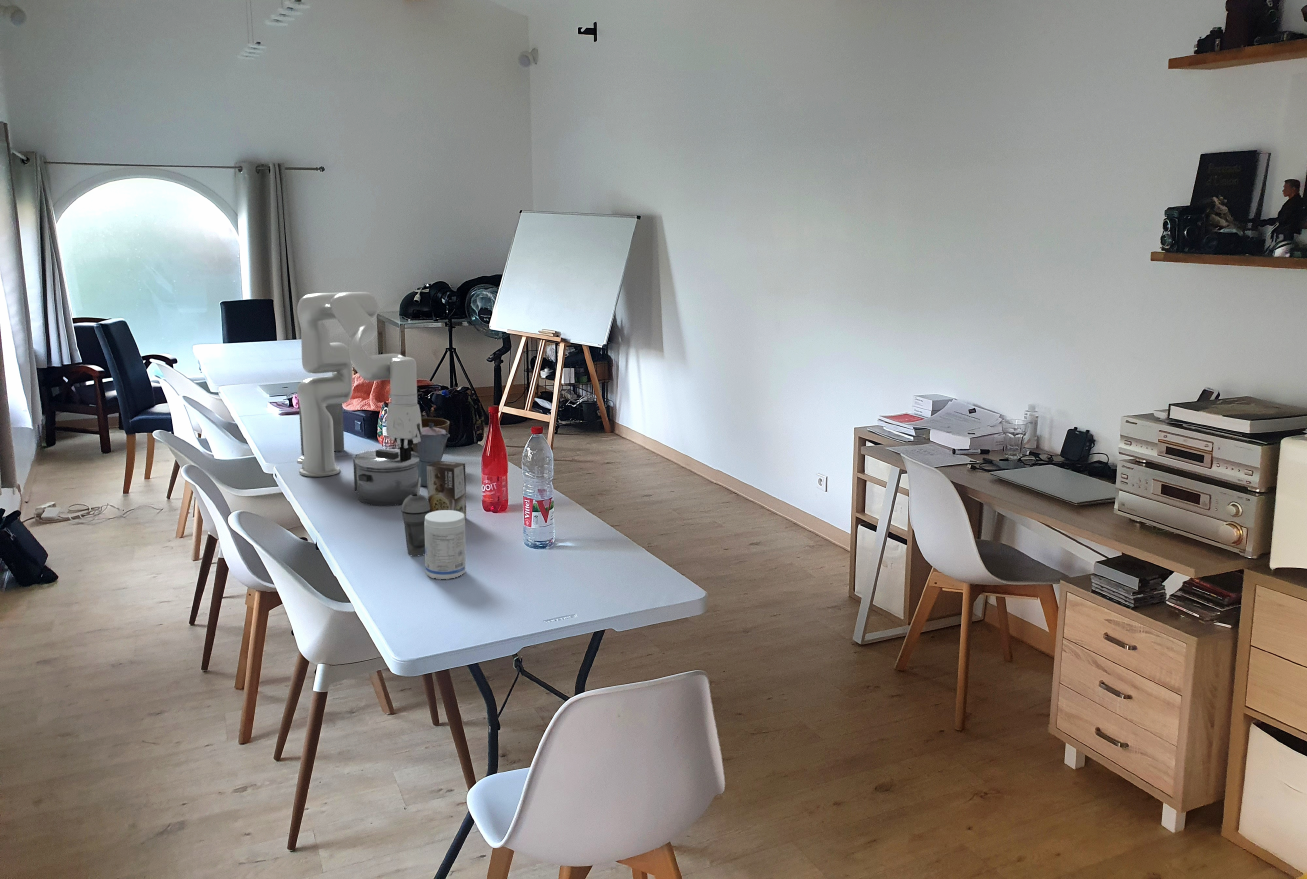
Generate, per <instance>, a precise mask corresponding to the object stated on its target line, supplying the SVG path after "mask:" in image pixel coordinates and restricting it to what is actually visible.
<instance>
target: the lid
mask: <svg viewBox="0 0 1307 879" xmlns="http://www.w3.org/2000/svg"><path fill="white" fill-rule="evenodd" d="M354 459H355V464H356V465H357V466H359V467H363V468H368V469H399V468H405V467H410V466H413V465H415V464H417V463H419V454H417V453H415V452H411V460H408V461H400V449H382V448H379V449H375V450H370V451H368V450H367V451H364V452H360V453H357V454H355V457H354Z"/></svg>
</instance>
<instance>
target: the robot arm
mask: <svg viewBox="0 0 1307 879" xmlns="http://www.w3.org/2000/svg"><path fill="white" fill-rule="evenodd" d="M379 308H380V306H379V302H378V299H377V298H376V297H375V296H374V295H373V294H372V293H371V292H368V291H356V292H354V291H353V292H348V291H347V292H319V293H316V292H315V293H310V294H306V295H304V296H302V297H301V298H300V299H299V301H298V303H297V308H296V310H297V311H296V312H297V317H298V318H297V320H298V322H299V326H300V332H301V336H300V337H301V340H300V341H301V363H302V364H301V365H302V369H303V370H304V371H305V372H306V373H307V374H311V375H314V374H315V375H318V374H328V373H331V374H332V375H327V376H325V375H324V376H316V377H314V376H313V377H309V378H306V379H303V380H302V381H300V383H298V385H297V388H296V395H297V399H298V402H299V405H300V408H301V415H302V428H303V447H304V455H303V456H300V457H299V458H298V459H297V461H296V463H297V464H299V465H302V466H301V468H300V469H299V474H300V475H302V476H304V477H311V478H312V477H313V478H317V477H318V478H320V477H329V476H333V475H334V476H335V475H337V474H339V473H341V468H340V467H339V466H338V465H336V463H335V462H336V461H335V460H336V459H335V452H334V435H333V419H332V417H331V415H330V413H329V412H328V411H327V409H326V408H325V406H329V405H334V404H341V403H342V404H345V403H347V402H348V401H350V400H351V398H352V395H353V368H354V369H355V371H356V372H357V374H358V375H359V376H360V377H361V378H362V379H363V380H365V381H367V382H377V381H386V380H388V381H389V380H390V381H389V382H390V385H389V388H390V389H389V390H390V393H389V394H388V398H389V399H390V402H389V403H388V406H387V409H386V410H387V411H386V423H385V424H386V425H385V426H386V427H385V428H386V431H385V432H386V435H387V436H388V437H389V439H390V440H393V441H394V442H395V443H396V444H397V448H399V450H400V461H408V460H411V447H412V446H413V444H414V443H418V442H421V439H420V436H421V435H422V422H421V418H422V414H421V409H420V404H418V383H417V382H418V381H417V380H418V377H417V375H418V374H417V362H416V359H415V358H413V357H410V356H409V357H407V356H403V355H402V354H399V353H384V354H383V353H382V354H373V355H369V354H368V352H367V351H366V350H365V349H364V347H363V346H364V345H366V344H367V343H369V342H370V341H372V339H374V337H375V336H376V335H377V332H378V331H377V330H378V327H377V325H376V324H375V322H374V321H373V319H374V318H376V317H377V316H378V314H379V311H380V310H379ZM336 320H337V321H338V323H339V324H340V326H341V327H342V328H343V330H344V332H345V334H347V336H348V337H349V339H350V340H349V344H348V346H347V345H346V344H345V343H343V342H331V341H330V329H329V327H328V325H327V324H326V322H325V321H336Z"/></svg>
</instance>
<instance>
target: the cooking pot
mask: <svg viewBox="0 0 1307 879" xmlns="http://www.w3.org/2000/svg"><path fill="white" fill-rule="evenodd" d="M352 460H353V483H354V492H357V494H356V495H357V501H358V503H361V504H362V505H367V506H373V507H391V506H392V507H393V506H394V507H395V506H402V504H403V502H404V500H405V499H406V498H407V497H408V496H410V495H412V494H417V493H418V483H419V476H418V464H419V463H417V464H415V465H413V466H410V467H405V468H399V469H368V468H363V467H359V466H357V465H356V464H355V458H353V459H352Z"/></svg>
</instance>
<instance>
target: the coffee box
mask: <svg viewBox="0 0 1307 879" xmlns="http://www.w3.org/2000/svg"><path fill="white" fill-rule="evenodd" d="M466 482H467V480H466V463H462V462H455V461H445V460H441V461H436V462H434V463H432V464H430V465H427V485H428V486H427V500H428V502H429V504H430V508H431V511H430V512H434V511H439V510H453V511H459V512H461V513H463V514H464V517H465V519H467V492H466V491H467V490H466V489H467V488H466V486H467V485H466Z"/></svg>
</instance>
